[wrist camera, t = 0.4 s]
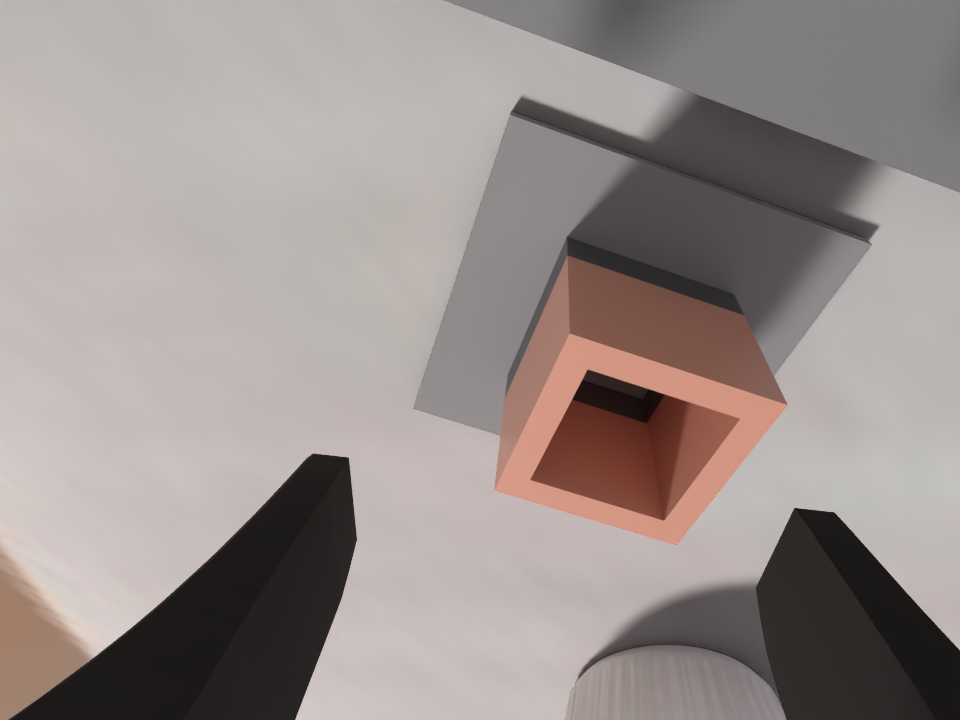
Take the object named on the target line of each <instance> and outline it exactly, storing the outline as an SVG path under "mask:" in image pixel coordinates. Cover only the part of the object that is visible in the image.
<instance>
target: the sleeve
mask: <svg viewBox="0 0 960 720" xmlns="http://www.w3.org/2000/svg"><path fill="white" fill-rule="evenodd" d="M587 370H591V371H594V372H597V373H601V374H604V375H607V376H610V377H613V378H616V379H619V380H622V381H625V382H628V383H631V384H635V385H638V386H641V387H644V388H647V389H648V391H647V393H646V394H645V396H644V398H643V399H640V398H637V397H634V396H631V395H628V394H625V393H622V392H619V391H615V390H612V389H609V388H606V387H603V386H600V385H597V384H594V383H591V382H588V381H584V380H582V379H583V378H584V376H585V374H586V372H587ZM786 406H787V403H786V401H785V399H784V397H783V395H782V392H781V390H780V388H779V386H778V384H777V382H776V380H775V378H774V376H773V374H772V372H771V370H770V368H769V365H768V363H767V361H766V359H765V357H764V355H763V353H762V351H761V349H760V347H759V345H758V343H757V341H756V339H755V336H754V334H753V332H752V330H751V328H750V326H749V324H748V322H747V320H746V318H745V316H744V314H743V312H742V309H741V307H740V305H739V303H738V301H737V299H736V297H735V295H734V294H732V293H730V292H727V291H724V290H721V289H718V288H715V287H712V286H709V285H706V284H703V283H700V282H697V281H695V280H692V279H689V278H686V277H683V276H680V275H677V274H674V273H671V272H668V271H665V270H663V269H660V268H657V267H654V266H651V265H648V264H645V263H642V262H639V261H636V260H633V259H630V258H628V257H625V256H622V255H619V254H616V253H613V252H610V251H607V250H604V249H601V248H598V247H595V246H593V245H590V244H587V243H584V242H581V241H578V240H575V239H572V238H569V237H567V238H566V240H565V242H564V245H563V247H562V249H561V252H560V254H559V256H558V259H557V261H556V263H555V266H554V268H553V270H552V273H551V275H550V277H549V280H548V282H547V284H546V287H545V289H544V291H543V294H542V296H541V298H540V301H539V303H538V305H537V308H536V310H535V312H534V315H533V317H532V319H531V322H530V324H529V326H528V329H527V331H526V333H525V336H524V338H523V340H522V343H521V345H520V347H519V350H518V352H517V354H516V357H515V359H514V361H513V363H512V366H511V368H510V370H509V373H508V375H507V384H506V393H505V402H504V410H503V419H502V428H501V437H500V446H499V454H498V463H497V472H496V481H495V489H494V490H495V491H498V492H501V493H505V494H508V495H511V496H515V497H518V498H521V499H525V500H528V501H531V502H535V503H538V504H541V505H545V506H548V507H551V508H555V509H558V510H561V511H564V512H568V513H571V514H574V515H578V516H581V517H584V518H588V519H591V520H594V521H598V522H601V523H604V524H608V525H611V526H614V527H618V528H621V529H624V530H628V531H631V532H634V533H638V534H641V535H644V536H648V537H651V538H654V539H658V540H661V541H664V542H668V543H671V544H674V545H677V544H678V543H679V542H680V540H681V539H682V538H683V536H684V535H685V534H686V533H687V531H688V530H689V529H690V528H691V526H692V525H693V524H694V523H695V521H696V520H697V519H698V518H699V516H700V515H701V514H702V513H703V511H704V510H705V509H706V507H707V506H708V505H709V504H710V502H711V501H712V500H713V499H714V497H715V496H716V495H717V494H718V492H719V491H720V490H721V489H722V487H723V486H724V485H725V483H726V482H727V481H728V480H729V478H730V477H731V476H732V475H733V473H734V472H735V471H736V470H737V468H738V467H739V466H740V465H741V463H742V462H743V461H744V459H745V458H746V457H747V456H748V454H749V453H750V452H751V451H752V449H753V448H754V447H755V446H756V444H757V443H758V442H759V441H760V439H761V438H762V437H763V436H764V434H765V433H766V432H767V430H768V429H769V428H770V427H771V425H772V424H773V423H774V422H775V420H776V419H777V418H778V417H779V415H780V414H781V413H782V412H783V410H784V409H785V408H786Z"/></svg>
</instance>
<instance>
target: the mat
mask: <svg viewBox="0 0 960 720" xmlns="http://www.w3.org/2000/svg"><path fill="white" fill-rule="evenodd" d="M567 237H569V238H572V239H575V240H578V241H581V242H584V243H587V244H590V245H593V246H595V247H598V248H601V249H604V250H607V251H610V252H613V253H616V254H619V255H622V256H625V257H628V258H630V259H633V260H636V261H639V262H642V263H645V264H648V265H651V266H654V267H657V268H660V269H663V270H665V271H668V272H671V273H674V274H677V275H680V276H683V277H686V278H689V279H692V280H695V281H697V282H700V283H703V284H706V285H709V286H712V287H715V288H718V289H721V290H724V291H727V292H730V293H732V294H734V295H735V297H736V299H737V301H738V303H739V305H740V307H741V309H742V312H743V314H744V316H745V318H746V320H747V322H748V324H749V326H750V328H751V330H752V332H753V334H754V336H755V339H756V341H757V343H758V345H759V347H760V349H761V351H762V353H763V355H764V357H765V359H766V361H767V363H768V365H769V368H770V370H771V372H772V374H773V376H774V375H775V374H776V372H777V371H778V370H779V368H780V367H781V366H782V364H783V363H784V362H785V360H786V359H787V358H788V356H789V355H790V354H791V352H792V351H793V350H794V348H795V347H796V346H797V344H798V343H799V342H800V340H801V339H802V338H803V336H804V335H805V334H806V332H807V331H808V330H809V328H810V327H811V326H812V324H813V323H814V322H815V320H816V319H817V318H818V316H819V315H820V314H821V312H822V311H823V310H824V308H825V307H826V306H827V304H828V303H829V302H830V300H831V299H832V298H833V296H834V295H835V294H836V292H837V291H838V290H839V288H840V287H841V285H842V284H843V283H844V281H845V280H846V279H847V277H848V276H849V275H850V273H851V272H852V271H853V269H854V268H855V267H856V265H857V264H858V263H859V261H860V260H861V259H862V257H863V256H864V255H865V253H866V252H867V251H868V249H869V248H870V247H871V245H872V244H871V243H870V242H869V241H868V240H867V239H866V238H863V237H860V236H857V235H855V234H852V233H849V232H846V231H843V230H841V229H838V228H835V227H832V226H830V225H827V224H824V223H821V222H818V221H816V220H813V219H810V218H807V217H804V216H802V215H799V214H796V213H793V212H791V211H788V210H785V209H782V208H779V207H777V206H774V205H771V204H768V203H766V202H763V201H760V200H757V199H754V198H752V197H749V196H746V195H743V194H740V193H738V192H735V191H732V190H729V189H727V188H724V187H721V186H718V185H715V184H713V183H710V182H707V181H704V180H702V179H699V178H696V177H693V176H690V175H688V174H685V173H682V172H679V171H676V170H674V169H671V168H668V167H665V166H663V165H660V164H657V163H654V162H651V161H649V160H646V159H643V158H640V157H637V156H635V155H632V154H629V153H626V152H624V151H621V150H618V149H615V148H612V147H610V146H607V145H604V144H601V143H599V142H596V141H593V140H590V139H587V138H585V137H582V136H579V135H576V134H573V133H571V132H568V131H565V130H562V129H560V128H557V127H554V126H551V125H548V124H546V123H543V122H540V121H537V120H535V119H532V118H529V117H526V116H523V115H521V114H518V113H515V112H512V111H511V114H510V117H509V120H508V123H507V126H506V129H505V132H504V135H503V138H502V141H501V144H500V147H499V150H498V153H497V156H496V159H495V162H494V165H493V168H492V171H491V175H490V178H489V181H488V184H487V187H486V190H485V193H484V196H483V199H482V202H481V205H480V208H479V211H478V214H477V217H476V220H475V223H474V226H473V229H472V232H471V235H470V238H469V241H468V244H467V247H466V250H465V253H464V256H463V259H462V262H461V265H460V268H459V271H458V274H457V277H456V281H455V284H454V287H453V290H452V293H451V296H450V299H449V302H448V305H447V308H446V311H445V314H444V317H443V320H442V323H441V326H440V329H439V332H438V335H437V338H436V341H435V344H434V347H433V350H432V353H431V356H430V359H429V362H428V365H427V368H426V371H425V374H424V377H423V380H422V384H421V387H420V390H419V393H418V396H417V399H416V402H415V405H414V408H413V409H416V410H419V411H422V412H426V413H429V414H432V415H435V416H439V417H442V418H445V419H448V420H451V421H455V422H458V423H461V424H464V425H468V426H471V427H474V428H477V429H481V430H484V431H487V432H490V433H493V434H497V435H500V436H501V428H502V419H503V410H504V402H505V393H506V384H507V375H508V373H509V370H510V368H511V366H512V363H513V361H514V359H515V357H516V354H517V352H518V350H519V347H520V345H521V343H522V340H523V338H524V336H525V333H526V331H527V329H528V326H529V324H530V322H531V319H532V317H533V315H534V312H535V310H536V308H537V305H538V303H539V301H540V298H541V296H542V294H543V291H544V289H545V287H546V284H547V282H548V280H549V277H550V275H551V273H552V270H553V268H554V266H555V263H556V261H557V259H558V256H559V254H560V252H561V249H562V247H563V245H564V242H565V240H566V238H567ZM582 380H584V381H588V382H591V383H594V384H597V385H600V386H603V387H606V388H609V389H612V390H615V391H619V392H622V393H625V394H628V395H631V396H634V397H637V398H640V399H643V398H644V396H645V394H646V393H647V391H648V389H647V388H644V387H641V386H638V385H635V384H631V383H628V382H625V381H622V380H619V379H616V378H613V377H610V376H607V375H604V374H601V373H597V372H594V371H591V370H587V372H586V374H585V376H584V378H583V379H582Z"/></svg>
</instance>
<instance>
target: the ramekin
mask: <svg viewBox="0 0 960 720" xmlns="http://www.w3.org/2000/svg"><path fill="white" fill-rule="evenodd" d="M565 720H786V717H785V713H784V711H783V709H782V707H781V704H780V702H779V700H778V698H777V697H776V695H775V693H774V691H773V690H772V688H771V687H770V686H769V685H768V684H767V683H766V681H765V680H763V679H762V678H761V677H759V676H758V675H757V674H756V673H755V672H753V671H752V670H751V669H750V668H748V667H747V666H746V665H744V664H743V663H741V662H739V661H738V660H735V659H733V658H731V657H729V656H727V655H724V654H721V653H717V652H715V651H712V650H708V649H703V648H698V647H691V646H682V645H653V646H644V647H637V648H632V649H628V650H624V651H620V652H617V653H615V654H612V655H610V656H607V657H605V658H603V659H601V660H599V661H598V662H596V663H595V664H593V665H592V666H591V667H590V668H589V669H588V670H587V671H586V672H585V673H584V674H583V675H582V676H581V677H580V678H579V679H578V680H577V682H576V683H575V686H574V687H573V689H572V690H571V693H570V697H569V700H568V704H567V709H566V715H565Z"/></svg>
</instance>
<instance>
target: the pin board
mask: <svg viewBox="0 0 960 720" xmlns="http://www.w3.org/2000/svg"><path fill="white" fill-rule="evenodd" d="M444 1H447V2H450V3H453V4H455V5H458V6H461V7H463V8H466V9H469V10H471V11H474V12H477V13H479V14H482V15H485V16H487V17H490V18H493V19H496V20H498V21H501V22H504V23H506V24H509V25H512V26H514V27H517V28H520V29H522V30H525V31H528V32H530V33H533V34H536V35H539V36H541V37H544V38H547V39H549V40H552V41H555V42H557V43H560V44H563V45H565V46H568V47H571V48H573V49H576V50H579V51H581V52H584V53H587V54H590V55H592V56H595V57H598V58H600V59H603V60H606V61H608V62H611V63H614V64H616V65H619V66H622V67H624V68H627V69H630V70H633V71H635V72H638V73H641V74H643V75H646V76H649V77H651V78H654V79H657V80H659V81H662V82H665V83H667V84H670V85H673V86H675V87H678V88H681V89H684V90H686V91H689V92H692V93H694V94H697V95H700V96H702V97H705V98H708V99H710V100H713V101H716V102H718V103H721V104H724V105H727V106H729V107H732V108H735V109H737V110H740V111H743V112H745V113H748V114H751V115H753V116H756V117H759V118H761V119H764V120H767V121H770V122H772V123H775V124H778V125H780V126H783V127H786V128H788V129H791V130H794V131H796V132H799V133H802V134H804V135H807V136H810V137H812V138H815V139H818V140H821V141H823V142H826V143H829V144H831V145H834V146H837V147H839V148H842V149H845V150H847V151H850V152H853V153H855V154H858V155H861V156H864V157H866V158H869V159H872V160H874V161H877V162H880V163H882V164H885V165H888V166H890V167H893V168H896V169H898V170H901V171H904V172H906V173H909V174H912V175H915V176H917V177H920V178H923V179H925V180H928V181H931V182H933V183H936V184H939V185H941V186H944V187H947V188H949V189H952V190H955V191H958V192H960V0H444Z"/></svg>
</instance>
